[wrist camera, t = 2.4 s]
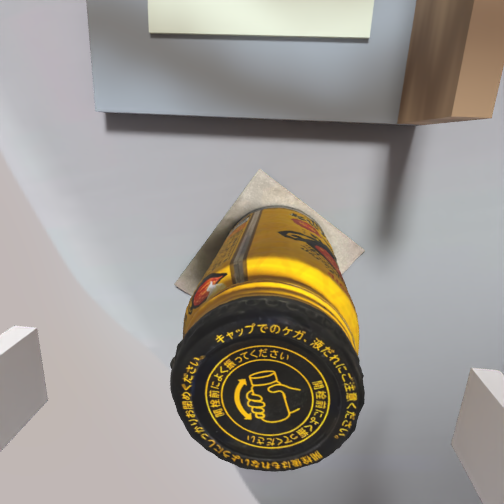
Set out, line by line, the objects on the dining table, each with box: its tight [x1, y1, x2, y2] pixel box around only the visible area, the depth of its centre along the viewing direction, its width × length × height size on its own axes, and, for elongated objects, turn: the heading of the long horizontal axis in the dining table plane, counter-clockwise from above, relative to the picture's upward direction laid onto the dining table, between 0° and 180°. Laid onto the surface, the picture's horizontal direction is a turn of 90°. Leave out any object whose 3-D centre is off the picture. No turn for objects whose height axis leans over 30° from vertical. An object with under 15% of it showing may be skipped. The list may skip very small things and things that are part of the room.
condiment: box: [170, 169, 365, 471], centre depth 15 cm, size 7×8×12 cm
